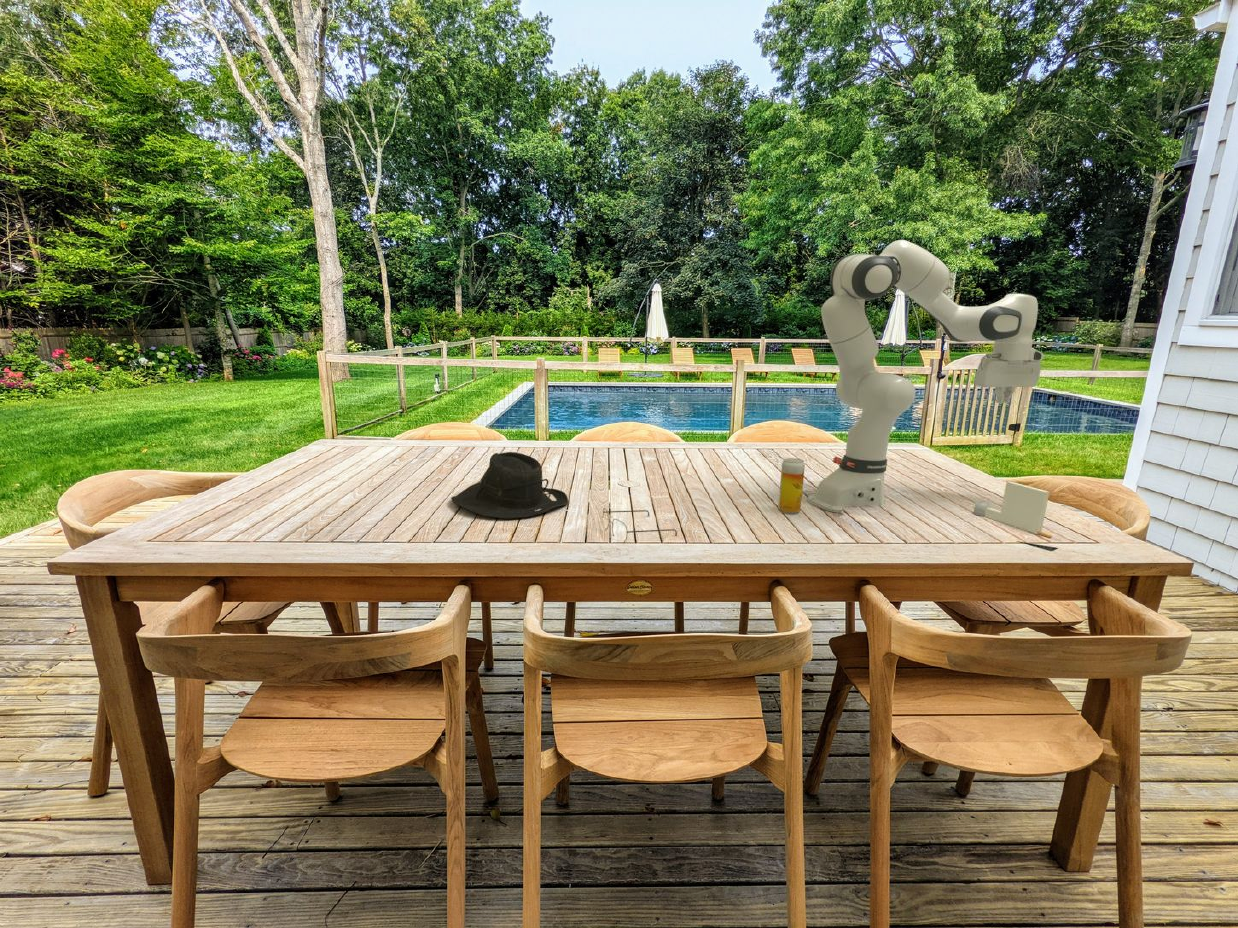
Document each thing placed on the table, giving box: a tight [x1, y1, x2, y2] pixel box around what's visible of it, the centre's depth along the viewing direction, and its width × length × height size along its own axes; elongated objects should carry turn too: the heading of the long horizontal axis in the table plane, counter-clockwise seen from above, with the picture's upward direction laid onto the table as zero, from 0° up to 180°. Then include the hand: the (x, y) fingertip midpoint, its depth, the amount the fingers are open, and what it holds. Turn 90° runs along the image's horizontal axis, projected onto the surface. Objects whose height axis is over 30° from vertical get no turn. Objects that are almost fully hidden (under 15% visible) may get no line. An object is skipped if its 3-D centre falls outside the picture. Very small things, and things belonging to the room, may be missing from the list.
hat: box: [451, 451, 569, 520], centre depth 162 cm, size 32×35×14 cm
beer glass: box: [777, 457, 806, 515], centre depth 157 cm, size 6×6×15 cm
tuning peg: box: [973, 481, 1053, 539], centre depth 146 cm, size 21×4×11 cm, turn 17°
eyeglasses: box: [602, 507, 678, 543], centre depth 141 cm, size 16×15×5 cm
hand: (1002, 402), depth 160 cm, fingers closed
